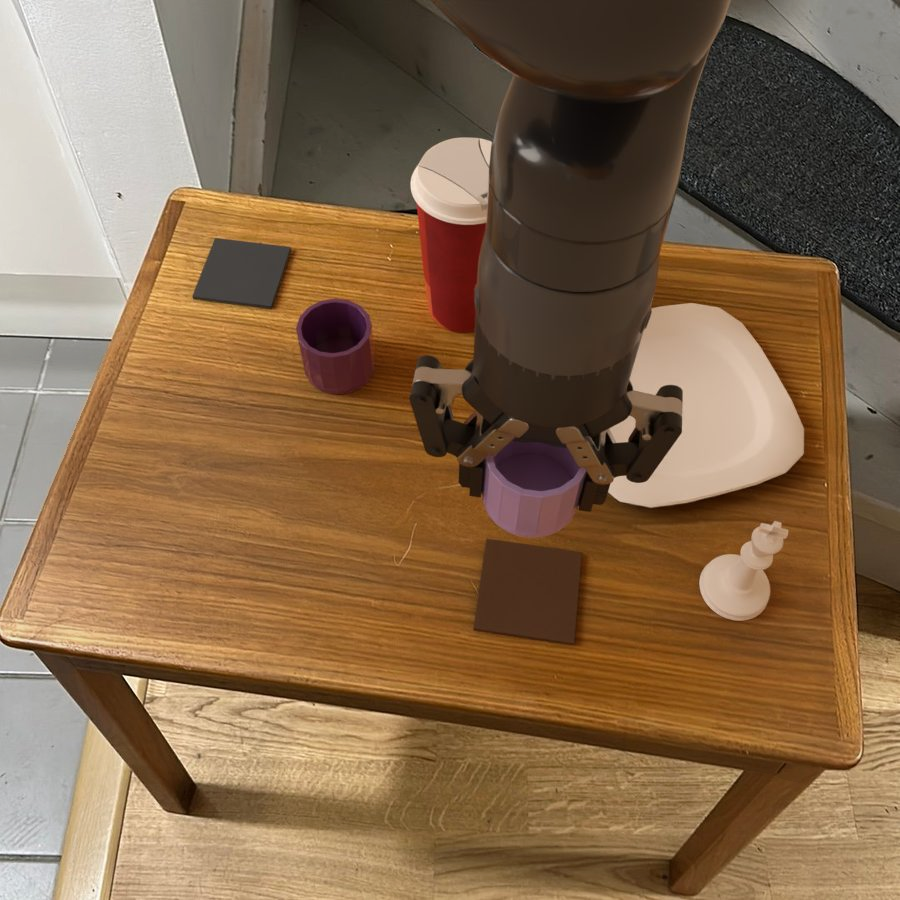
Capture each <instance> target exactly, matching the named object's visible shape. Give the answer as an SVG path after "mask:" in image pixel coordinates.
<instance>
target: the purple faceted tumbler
mask: <svg viewBox="0 0 900 900" xmlns="http://www.w3.org/2000/svg"><path fill="white" fill-rule="evenodd" d="M295 331H296V337H297V341H298V346H299V351H300V355H301V356H300V357H301V362H302V365H303V371H304V374H305V377H306V380H307V381H308V382H309V383H310V384H311V385H312V386H313V387H314V388H315V389H317V390H318V391H321V392H323V393H326V394H330V395H344V394H345V395H346V394H350V393H353V392H356V391H358V390H359V389H361V388H362V387H364V386H365V385H366V384H368V382H369V381H370V379H372V377H373V375H374V372H375V368H376V355H375V345H374V343H375V342H374V333H373V332H374V331H373V325H372V320H371V317H370V314H368V312H367V311H366V310H365V309H364V307H363V306H362V305H360V304H358V303H356V302H354V301H352V300H350V299H343V298H337V297H336V298H329V299H323V300H322V299H321V300H319V301H317V302H316V303H314V304H311V305H310V306H308V307H307V308H306V309H305V310H304V311H303V312H302V314H300V315H299V316H298V319H297V323H296V327H295Z"/></svg>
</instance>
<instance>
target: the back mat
mask: <svg viewBox="0 0 900 900" xmlns="http://www.w3.org/2000/svg"><path fill="white" fill-rule="evenodd" d="M291 252H292V247H291V246H285V245H277V244H269V243H260V242H251V241H245V240H235V239H227V238H218V237H214V239H213V242H212V245H211V247H210V249H209V251H208V254H207V256H206V257H207V258H206V260H205V263H204V265H203V267H202V270H201V273H200V274H199V277H198V280H197V283H196V285H195V288H194V291H193V292H192V295H191V296H192V299H193V300H196V301H197V300H198V301H204V302H213V303H220V304H229V305H237V306H244V307H253V308H261V309H269V310H273V308H274V304H275V301H276V298H277V295H278V292H279V289H280V286H281V283H282V280H283V277H284V274H285V271H286V267H287V266H288V265H287V264H288V262H289V259H290V256H291Z"/></svg>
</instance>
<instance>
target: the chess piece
mask: <svg viewBox="0 0 900 900" xmlns="http://www.w3.org/2000/svg"><path fill="white" fill-rule="evenodd" d="M788 536H789V529H787V528H783V527H782V522H781V521H777V520H774V521H773V522H772V524H768V523H764V522H761V523H760V524H759V526H757V527H755V528H754V530H753V531H752V533H751V538H750V539H751V540H749V541H747V542H745V543H744V544H743V545H742V546H741V548H740V553H739V554H736V553H735V554H734V553H728V554H727V553H726V554H722V555H719V556H716V557H715V558H713V559H711V560H710V561H709V562H708V563H707V564H706V565H705V566H704V567H703V569H702V571H701V572H700V576H699V583H698V585H699V586H698V587H699V591H700V594H701V597H702V599H703V601H704V602H705V604H706V605H707V606H708V607H709V609H710V610H712V611H713V612H714V613H715V614H716V615H718V616H720V617H722V618H724V619H727V620H730V621H738V622H742V621H748V620H752V619H755V618H756V617H758V616H759V615H761V613H763V612H764V611H765V610H766V608H767V605H768V603H769V600H770V597H771V584H770V581H769V578H768V576H767V574H766V572H765V571H764V570H766V569H768V568H770V567H771V565H772V564H773V561H774V555H775V554H777V553H779V552H780V551H782V549H783V547H784V540H786V539H787V538H788Z"/></svg>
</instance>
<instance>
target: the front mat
mask: <svg viewBox="0 0 900 900" xmlns="http://www.w3.org/2000/svg"><path fill="white" fill-rule="evenodd" d="M582 556H583V552H582V551H577V550H569V549H562V548H556V547H555V548H554V547H550V546H549V547H548V546H540V545H534V544H526V543H519V542H512V541H505V540H497V539H493V538H492V539H491V538H486V539H485V545H484V553H483V560H482V566H481V574H480V580H479V588H478V595H477V601H476V608H475V613H474V614H475V615H474V621H473V629H472V630H473V631H474V632H475V631H476V632H482V633H489V634H496V635H500V636H501V635H502V636H509V637H516V638H522V639H528V640H536V641H542V642H550V643H557V644H563V645H571V646H575V641H576V630H577V629H576V628H577V616H578V603H579V593H580V580H581V571H582V570H581V569H582V558H583V557H582Z"/></svg>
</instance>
